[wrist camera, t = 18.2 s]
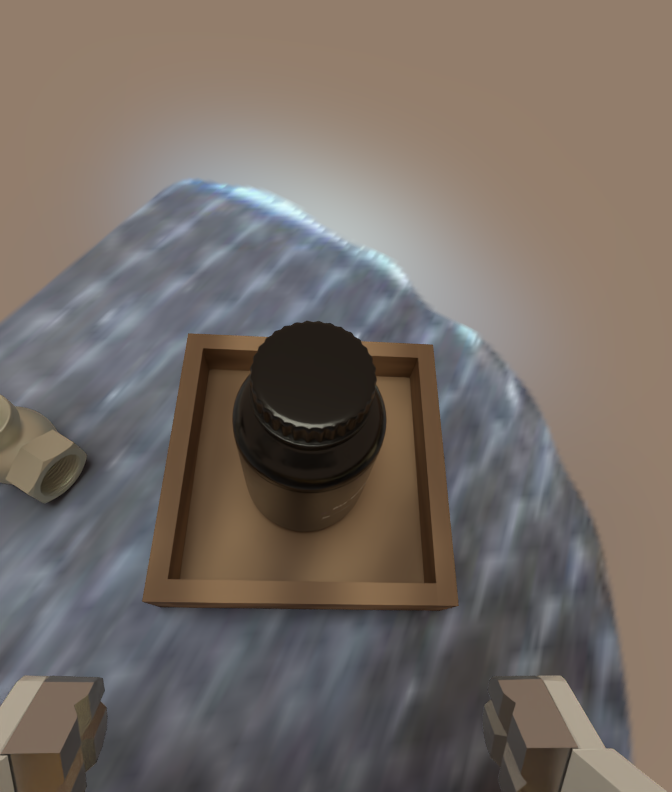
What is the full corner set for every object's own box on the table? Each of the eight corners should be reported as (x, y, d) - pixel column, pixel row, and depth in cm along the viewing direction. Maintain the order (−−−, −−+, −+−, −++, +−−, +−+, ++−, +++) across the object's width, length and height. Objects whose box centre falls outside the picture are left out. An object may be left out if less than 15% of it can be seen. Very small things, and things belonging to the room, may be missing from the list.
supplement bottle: (358, 541, 27) (398, 473, 17) (236, 526, 27) (197, 447, 17) (368, 428, 30) (407, 311, 20) (258, 414, 30) (239, 288, 20)
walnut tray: (160, 607, 26) (142, 601, 23) (198, 363, 33) (188, 333, 30) (439, 610, 27) (458, 605, 24) (420, 372, 34) (432, 344, 31)
